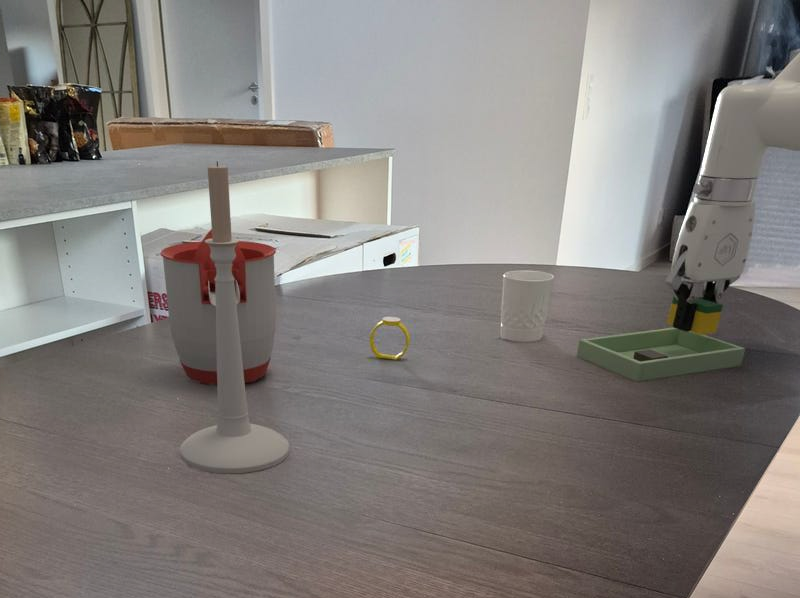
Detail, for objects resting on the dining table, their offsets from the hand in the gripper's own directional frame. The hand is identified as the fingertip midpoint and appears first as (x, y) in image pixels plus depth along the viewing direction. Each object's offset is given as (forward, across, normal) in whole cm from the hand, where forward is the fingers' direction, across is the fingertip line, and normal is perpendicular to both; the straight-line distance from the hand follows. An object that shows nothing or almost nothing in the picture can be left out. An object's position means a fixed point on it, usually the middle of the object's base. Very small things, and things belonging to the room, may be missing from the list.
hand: (691, 326), depth 127 cm
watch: (+6, -41, +19) cm, 46 cm away
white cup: (+5, -16, +20) cm, 26 cm away
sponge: (0, 0, 0) cm, 0 cm away
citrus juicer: (+6, -67, +20) cm, 70 cm away
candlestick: (+6, -75, -8) cm, 76 cm away
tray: (+5, -5, 0) cm, 7 cm away
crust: (+5, -7, 0) cm, 8 cm away
